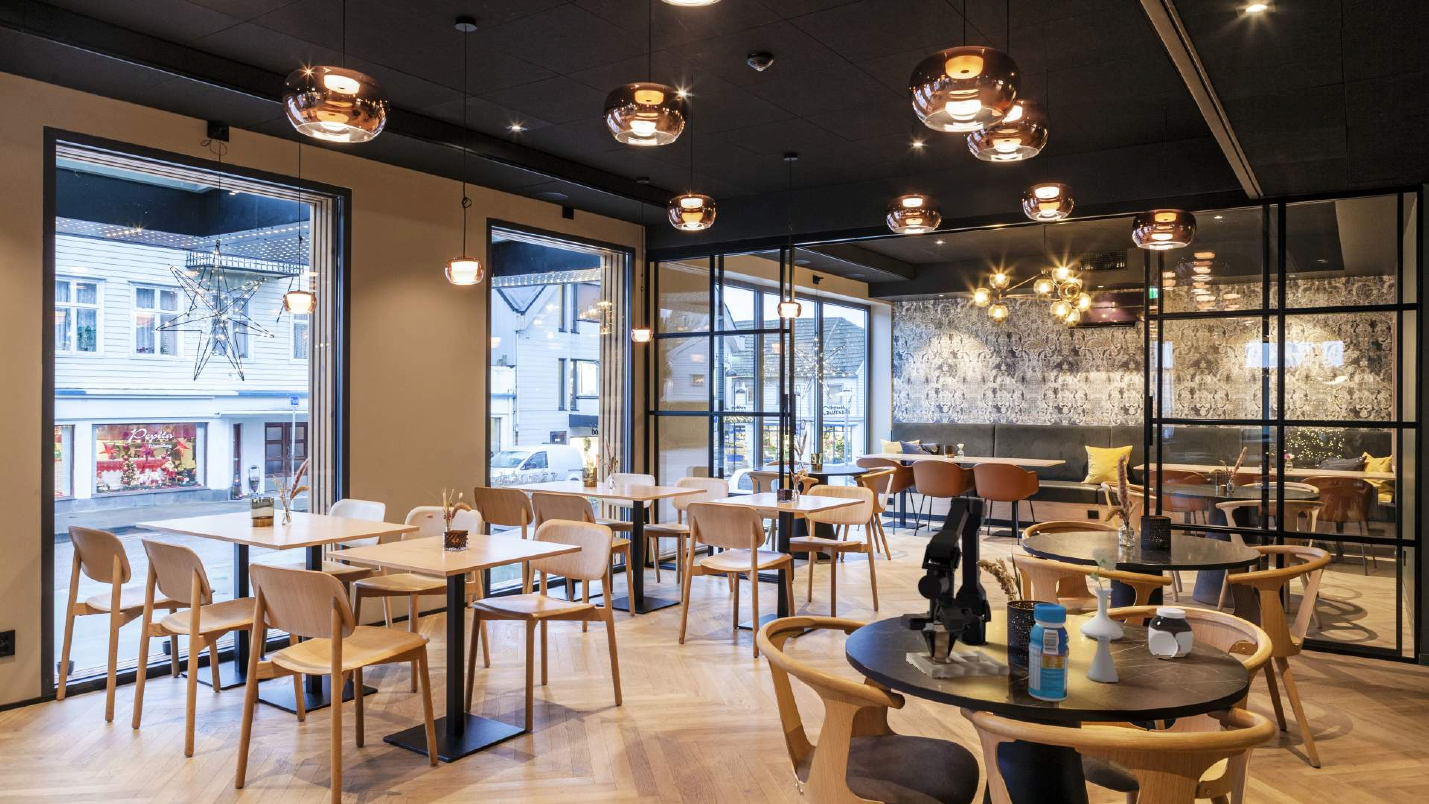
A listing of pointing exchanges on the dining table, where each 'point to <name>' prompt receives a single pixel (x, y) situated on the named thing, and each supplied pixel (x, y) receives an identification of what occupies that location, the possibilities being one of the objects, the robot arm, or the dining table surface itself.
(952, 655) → the board
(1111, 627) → the flower in vase
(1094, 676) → the flask
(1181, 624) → the spread jar
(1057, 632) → the beverage bottle
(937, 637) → the peg
